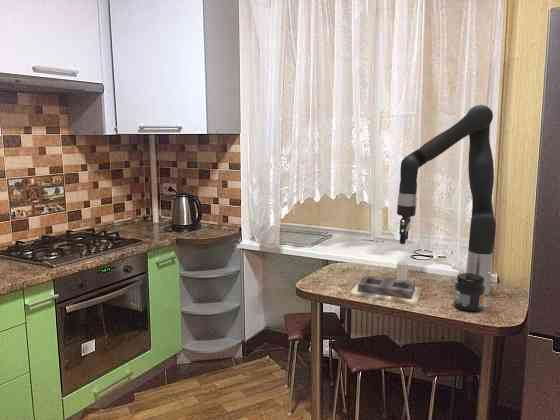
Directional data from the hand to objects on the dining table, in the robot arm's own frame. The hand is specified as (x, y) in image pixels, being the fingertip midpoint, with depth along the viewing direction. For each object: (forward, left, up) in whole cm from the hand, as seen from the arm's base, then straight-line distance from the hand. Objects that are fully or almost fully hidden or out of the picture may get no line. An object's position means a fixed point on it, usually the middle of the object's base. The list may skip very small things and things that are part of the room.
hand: (403, 241), depth 203 cm
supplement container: (-27, +17, -19) cm, 37 cm away
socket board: (+4, +14, -19) cm, 24 cm away
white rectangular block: (0, 0, -19) cm, 19 cm away
